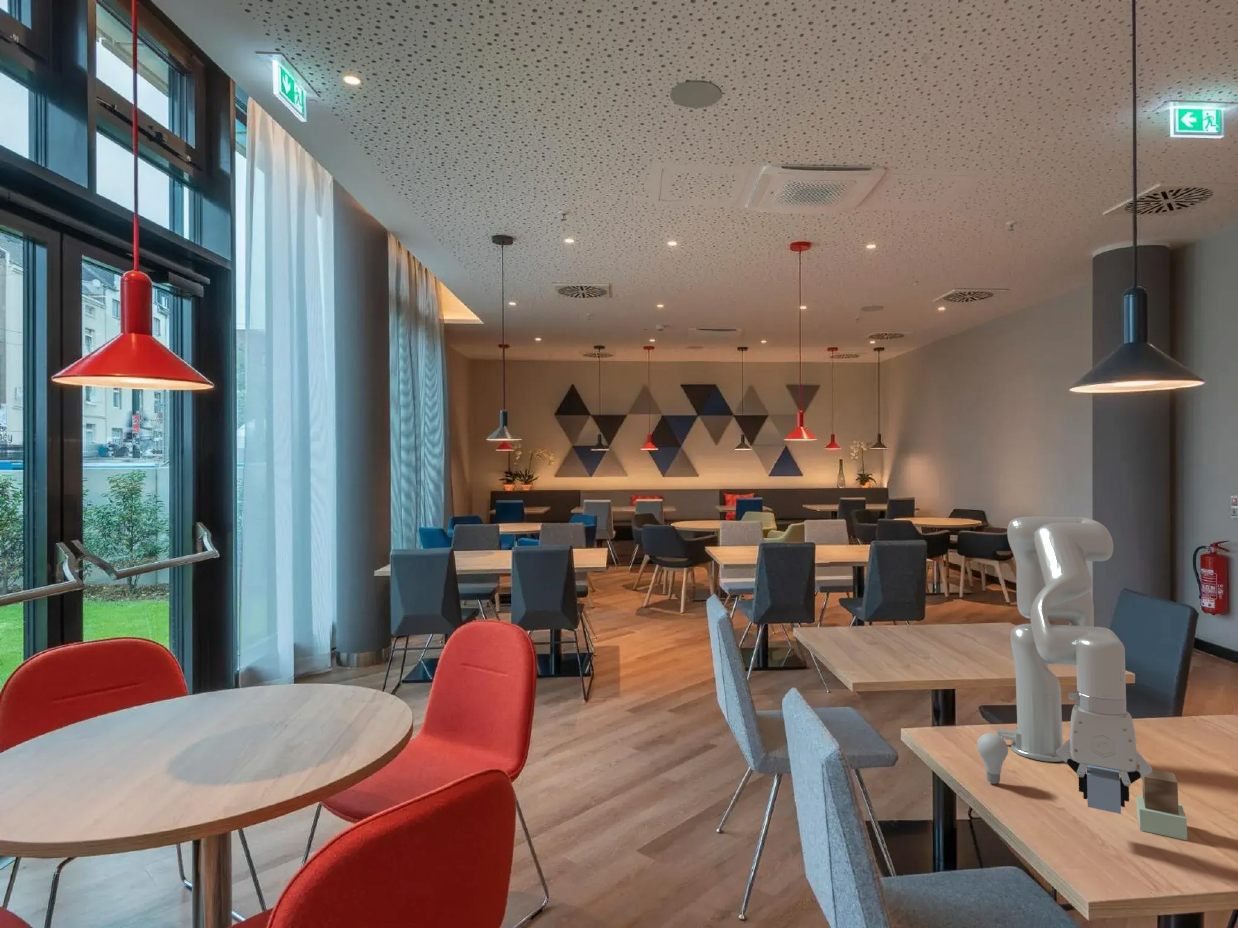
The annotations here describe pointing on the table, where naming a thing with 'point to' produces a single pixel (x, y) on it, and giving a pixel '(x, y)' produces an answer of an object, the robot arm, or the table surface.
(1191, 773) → the table surface
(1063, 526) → the robot arm
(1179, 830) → the base brick
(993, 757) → the lightbulb
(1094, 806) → the slate block
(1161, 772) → the walnut block
